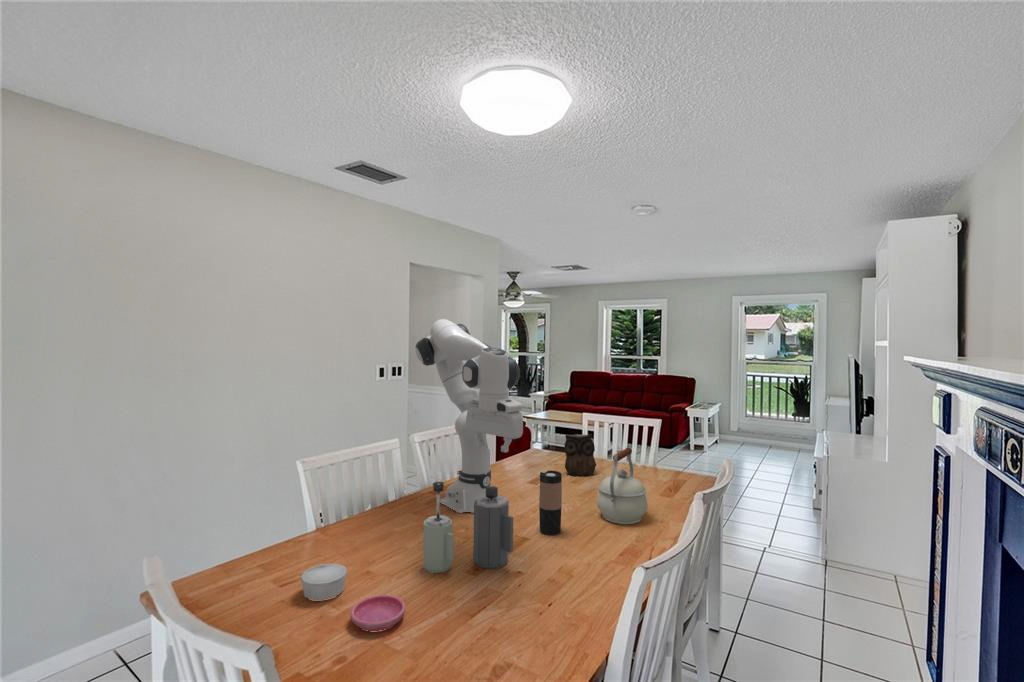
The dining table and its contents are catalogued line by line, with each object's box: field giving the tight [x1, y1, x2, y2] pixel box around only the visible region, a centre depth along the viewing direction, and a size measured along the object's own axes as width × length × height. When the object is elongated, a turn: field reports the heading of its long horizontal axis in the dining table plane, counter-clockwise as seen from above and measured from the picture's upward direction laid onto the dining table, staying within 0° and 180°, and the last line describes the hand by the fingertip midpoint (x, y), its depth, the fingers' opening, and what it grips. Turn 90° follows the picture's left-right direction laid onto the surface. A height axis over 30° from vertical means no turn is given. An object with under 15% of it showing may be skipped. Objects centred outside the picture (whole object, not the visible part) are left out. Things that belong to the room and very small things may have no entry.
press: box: [472, 494, 514, 570], centre depth 146 cm, size 13×11×18 cm
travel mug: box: [538, 470, 563, 536], centre depth 170 cm, size 8×8×20 cm
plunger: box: [486, 485, 499, 501], centre depth 147 cm, size 4×4×13 cm
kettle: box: [596, 447, 648, 525], centre depth 185 cm, size 25×18×25 cm
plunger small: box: [432, 481, 445, 518], centre depth 143 cm, size 3×3×10 cm
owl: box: [564, 433, 597, 478], centre depth 240 cm, size 13×13×20 cm
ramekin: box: [300, 563, 348, 600], centre depth 128 cm, size 11×11×5 cm
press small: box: [422, 514, 455, 574], centre depth 142 cm, size 10×8×14 cm
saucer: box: [350, 594, 406, 631], centre depth 116 cm, size 12×12×3 cm
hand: (492, 449), depth 147 cm, fingers open, 8 cm apart
